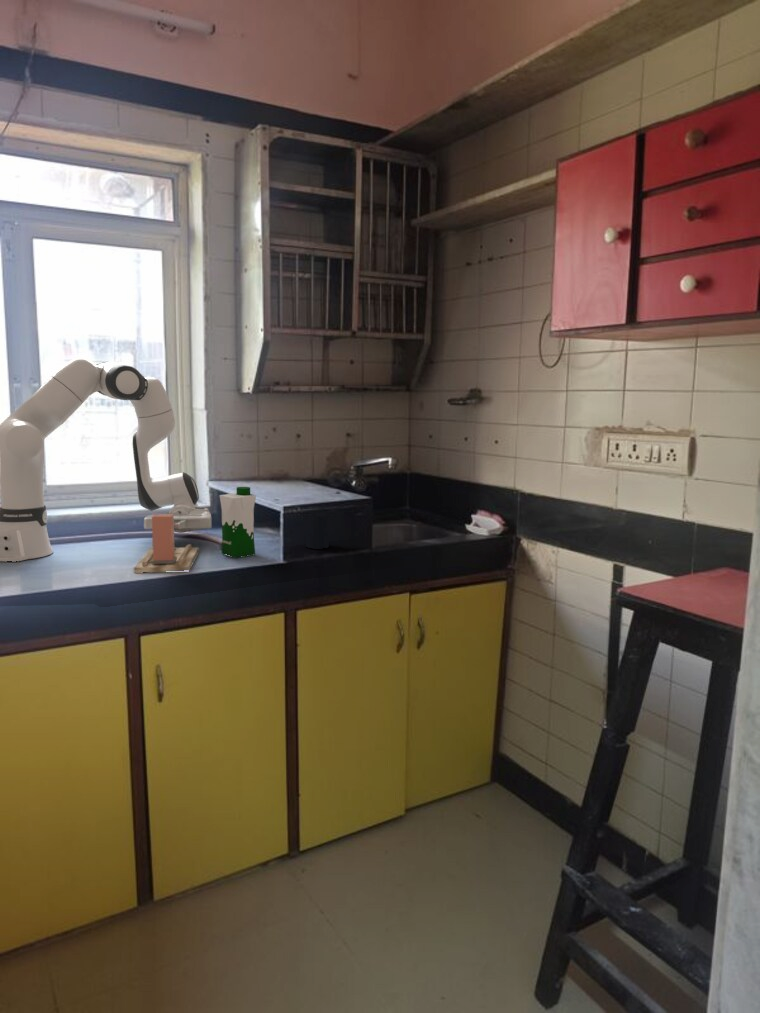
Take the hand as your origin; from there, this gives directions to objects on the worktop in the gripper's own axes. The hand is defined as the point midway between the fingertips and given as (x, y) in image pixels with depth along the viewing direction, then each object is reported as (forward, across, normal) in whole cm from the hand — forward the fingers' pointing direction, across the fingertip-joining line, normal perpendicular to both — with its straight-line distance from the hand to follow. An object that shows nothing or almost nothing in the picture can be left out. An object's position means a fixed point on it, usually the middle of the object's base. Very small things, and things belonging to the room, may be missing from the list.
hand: (175, 526), depth 211 cm
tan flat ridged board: (+14, 0, +8) cm, 16 cm away
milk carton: (+6, +19, +8) cm, 21 cm away
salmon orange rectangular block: (+21, 0, +6) cm, 21 cm away
